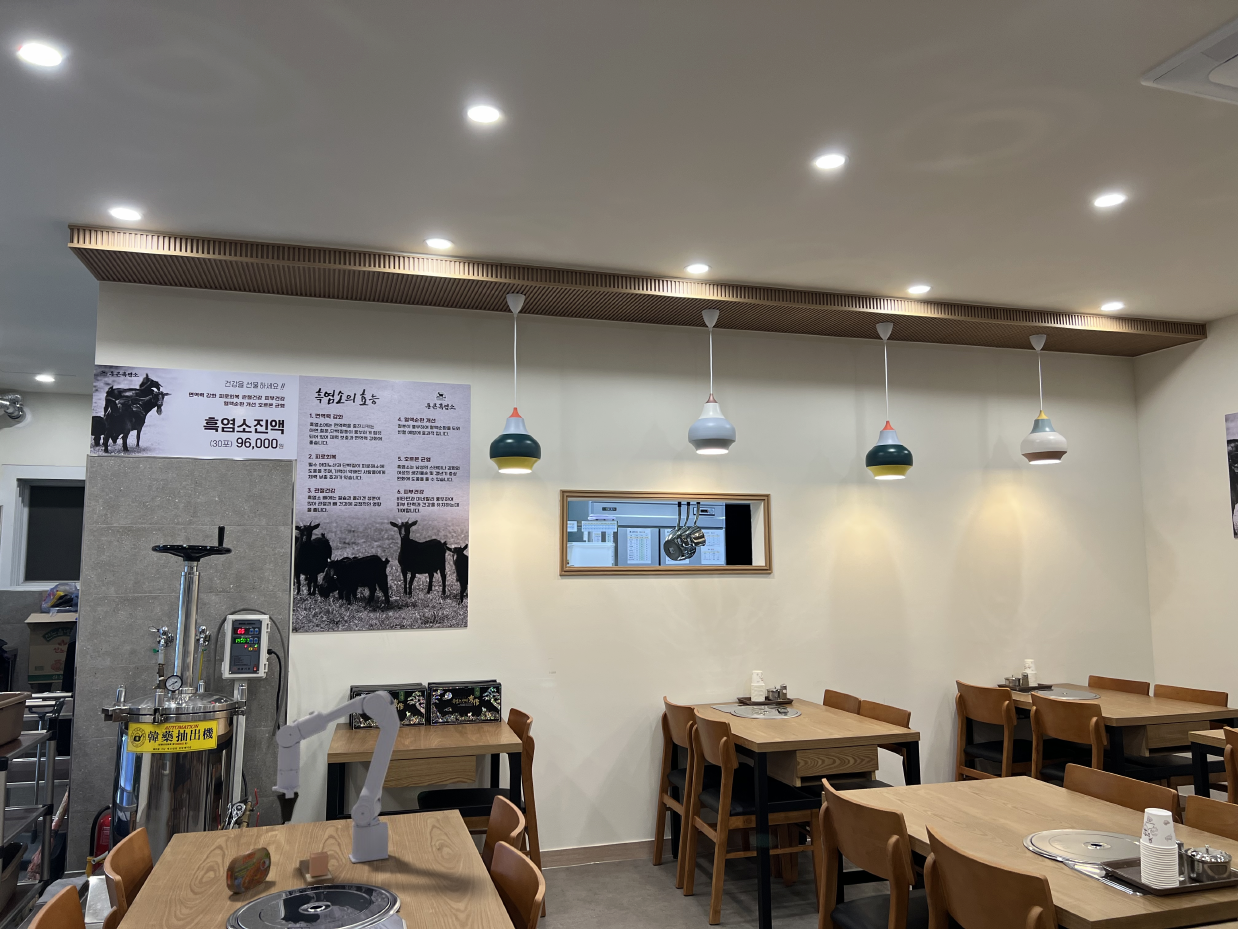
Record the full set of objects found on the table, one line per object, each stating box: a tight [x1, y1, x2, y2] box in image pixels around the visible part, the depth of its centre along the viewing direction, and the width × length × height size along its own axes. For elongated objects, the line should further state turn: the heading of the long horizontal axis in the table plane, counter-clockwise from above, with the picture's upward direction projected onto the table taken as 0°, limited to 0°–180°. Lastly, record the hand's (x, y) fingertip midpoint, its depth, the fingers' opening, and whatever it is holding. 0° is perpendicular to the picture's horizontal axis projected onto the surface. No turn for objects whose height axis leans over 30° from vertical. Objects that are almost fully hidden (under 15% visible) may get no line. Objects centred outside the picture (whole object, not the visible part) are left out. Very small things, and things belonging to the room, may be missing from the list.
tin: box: [225, 846, 272, 894], centre depth 211 cm, size 15×3×8 cm, turn 168°
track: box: [298, 858, 334, 888], centre depth 219 cm, size 6×22×2 cm, turn 25°
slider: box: [309, 851, 329, 877], centre depth 214 cm, size 4×4×4 cm
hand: (286, 821), depth 234 cm, fingers closed
